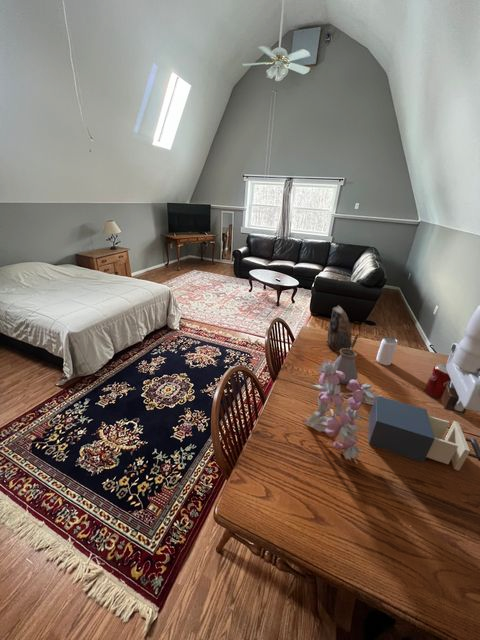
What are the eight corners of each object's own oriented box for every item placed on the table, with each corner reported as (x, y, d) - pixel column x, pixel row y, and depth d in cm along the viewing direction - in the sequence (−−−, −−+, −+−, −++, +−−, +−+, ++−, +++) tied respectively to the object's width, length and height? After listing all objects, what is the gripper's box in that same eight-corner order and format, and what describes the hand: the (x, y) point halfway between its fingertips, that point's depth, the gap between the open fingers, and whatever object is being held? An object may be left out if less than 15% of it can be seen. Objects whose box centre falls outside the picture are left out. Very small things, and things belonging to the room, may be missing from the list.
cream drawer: (467, 446, 82) (478, 427, 79) (480, 478, 73) (493, 458, 70) (400, 425, 89) (407, 407, 86) (404, 452, 79) (412, 433, 76)
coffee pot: (352, 391, 105) (361, 358, 99) (323, 379, 111) (330, 348, 105) (363, 366, 122) (372, 337, 115) (338, 357, 127) (344, 329, 121)
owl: (333, 353, 131) (342, 316, 122) (316, 341, 141) (323, 306, 133) (352, 348, 136) (361, 312, 128) (334, 337, 146) (341, 303, 138)
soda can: (421, 392, 106) (432, 367, 101) (427, 385, 111) (437, 361, 106) (443, 402, 101) (455, 377, 96) (448, 394, 106) (460, 369, 101)
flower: (282, 457, 75) (340, 407, 62) (283, 397, 94) (327, 350, 82) (342, 485, 77) (409, 442, 65) (330, 421, 97) (380, 378, 84)
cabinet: (416, 431, 88) (426, 409, 84) (423, 462, 77) (434, 438, 73) (368, 416, 93) (375, 395, 89) (368, 444, 82) (376, 420, 78)
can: (373, 361, 126) (380, 338, 121) (379, 356, 130) (386, 334, 125) (387, 367, 122) (394, 344, 117) (393, 362, 125) (400, 340, 120)
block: (459, 404, 77) (466, 391, 75) (464, 414, 73) (471, 401, 71) (440, 398, 78) (446, 386, 76) (444, 409, 74) (450, 396, 72)
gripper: (508, 387, 59) (481, 432, 65) (477, 345, 76) (458, 384, 82) (473, 379, 61) (450, 423, 67) (450, 340, 78) (434, 379, 84)
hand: (454, 402), depth 75 cm, fingers closed on block, 4 cm apart
